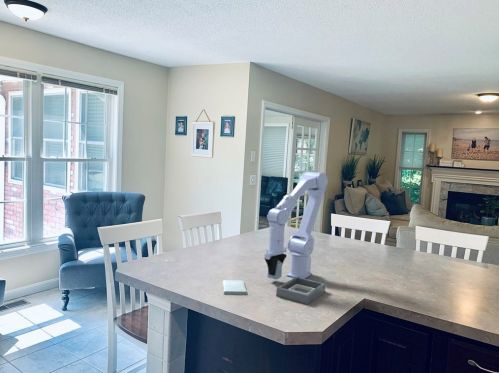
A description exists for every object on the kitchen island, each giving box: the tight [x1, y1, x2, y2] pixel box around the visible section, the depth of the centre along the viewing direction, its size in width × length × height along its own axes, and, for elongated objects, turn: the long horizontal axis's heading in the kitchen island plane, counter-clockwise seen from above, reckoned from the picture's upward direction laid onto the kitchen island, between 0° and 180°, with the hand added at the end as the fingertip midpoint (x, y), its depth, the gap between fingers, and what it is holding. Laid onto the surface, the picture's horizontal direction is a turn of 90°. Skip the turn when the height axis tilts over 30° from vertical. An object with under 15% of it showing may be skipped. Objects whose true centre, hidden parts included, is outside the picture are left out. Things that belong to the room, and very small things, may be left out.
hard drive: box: [222, 279, 248, 295], centre depth 142 cm, size 2×8×12 cm
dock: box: [275, 277, 327, 305], centre depth 140 cm, size 16×12×3 cm
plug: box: [267, 261, 283, 280], centre depth 151 cm, size 4×4×7 cm
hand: (274, 273), depth 152 cm, fingers closed on plug, 4 cm apart
